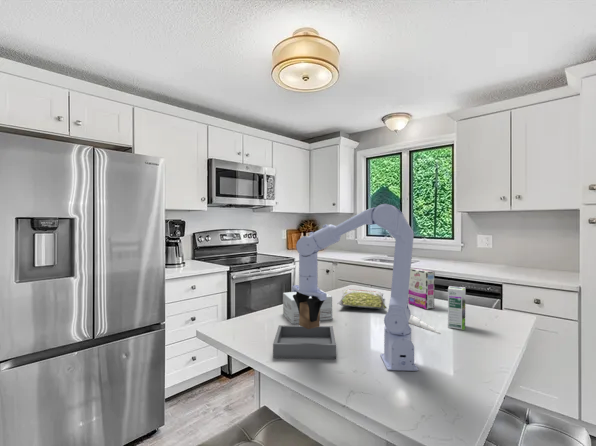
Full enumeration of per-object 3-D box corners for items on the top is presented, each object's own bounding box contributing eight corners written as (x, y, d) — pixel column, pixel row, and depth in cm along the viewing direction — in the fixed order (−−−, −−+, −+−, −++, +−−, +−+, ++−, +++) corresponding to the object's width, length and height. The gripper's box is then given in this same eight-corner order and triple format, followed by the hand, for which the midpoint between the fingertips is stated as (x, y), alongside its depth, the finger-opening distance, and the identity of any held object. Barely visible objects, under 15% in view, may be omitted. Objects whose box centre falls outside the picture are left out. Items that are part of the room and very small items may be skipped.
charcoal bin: (336, 359, 93) (336, 345, 93) (273, 357, 94) (273, 344, 94) (332, 338, 109) (332, 326, 109) (278, 337, 110) (278, 325, 110)
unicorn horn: (432, 336, 111) (432, 322, 111) (387, 316, 133) (387, 305, 133) (442, 334, 113) (443, 320, 113) (396, 315, 135) (396, 303, 135)
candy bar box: (435, 308, 143) (435, 271, 143) (426, 310, 141) (426, 272, 141) (415, 302, 153) (416, 267, 153) (407, 303, 151) (408, 268, 151)
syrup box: (447, 328, 119) (447, 288, 118) (448, 323, 124) (448, 285, 124) (465, 330, 116) (465, 289, 116) (465, 325, 121) (465, 286, 121)
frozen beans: (337, 297, 140) (341, 284, 165) (336, 310, 140) (341, 296, 165) (387, 301, 136) (384, 287, 160) (387, 315, 136) (383, 299, 161)
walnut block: (319, 326, 101) (320, 303, 101) (308, 329, 98) (309, 305, 98) (310, 322, 105) (310, 300, 105) (299, 325, 102) (299, 302, 102)
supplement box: (320, 310, 141) (320, 288, 141) (332, 319, 129) (332, 296, 129) (282, 314, 136) (282, 291, 136) (291, 324, 124) (291, 299, 123)
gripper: (334, 277, 98) (334, 322, 98) (303, 270, 109) (303, 311, 110) (316, 280, 93) (316, 327, 94) (286, 272, 105) (286, 315, 105)
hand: (308, 318), depth 101 cm, fingers closed on walnut block, 4 cm apart
